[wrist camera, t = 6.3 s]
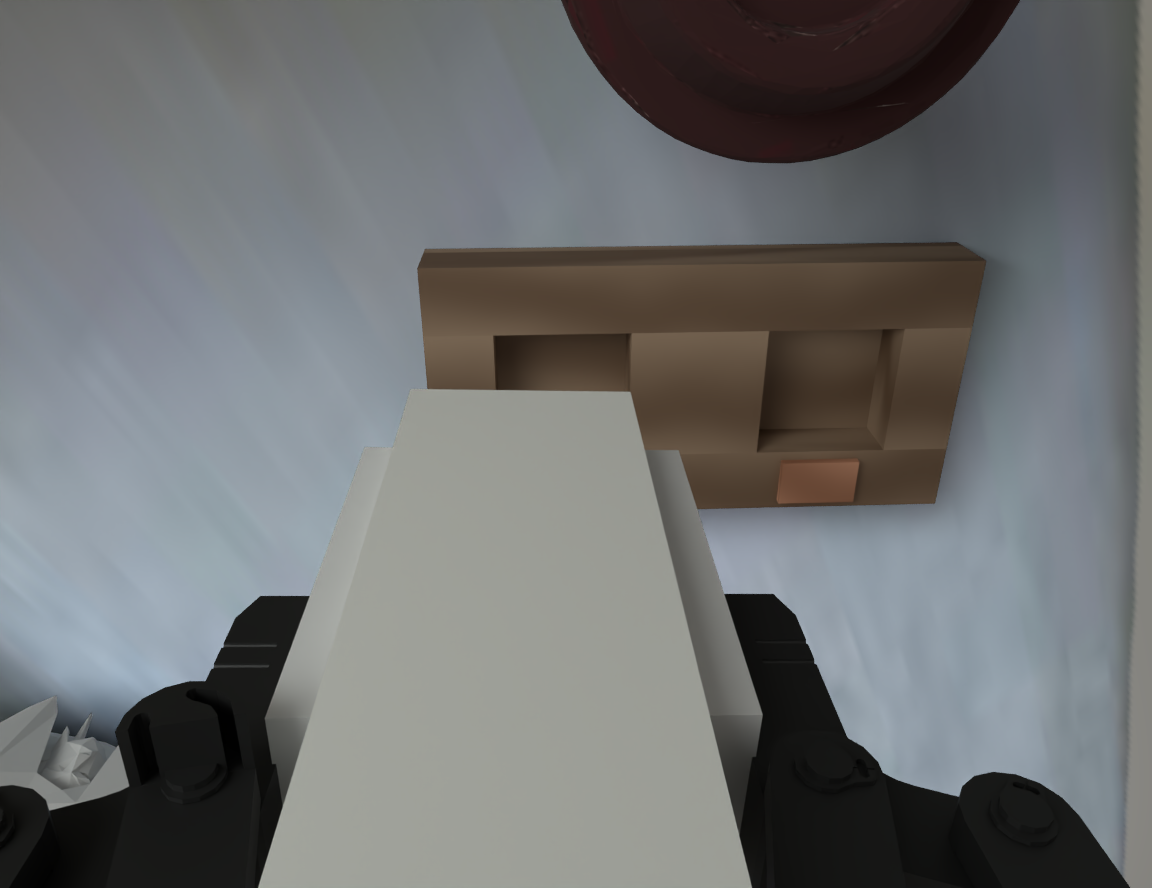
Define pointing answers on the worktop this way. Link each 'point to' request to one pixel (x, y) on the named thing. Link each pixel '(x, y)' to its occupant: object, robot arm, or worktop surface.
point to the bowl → (57, 758)
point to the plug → (511, 671)
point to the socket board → (729, 354)
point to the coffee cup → (784, 67)
